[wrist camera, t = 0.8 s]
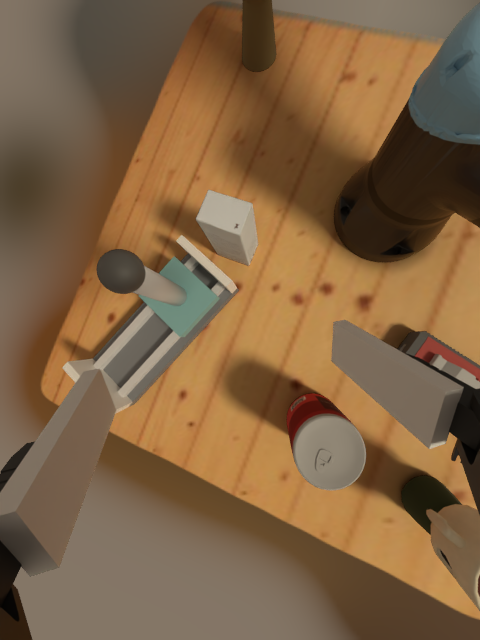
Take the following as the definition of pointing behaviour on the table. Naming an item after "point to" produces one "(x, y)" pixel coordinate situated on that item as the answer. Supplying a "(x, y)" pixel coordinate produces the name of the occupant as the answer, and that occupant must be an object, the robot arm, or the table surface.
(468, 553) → the character mug
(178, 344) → the rail track
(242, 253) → the skincare box
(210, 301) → the carriage
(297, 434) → the canned food
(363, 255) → the robot arm
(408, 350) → the walkie-talkie
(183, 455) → the table surface
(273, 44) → the olive pawn figure
